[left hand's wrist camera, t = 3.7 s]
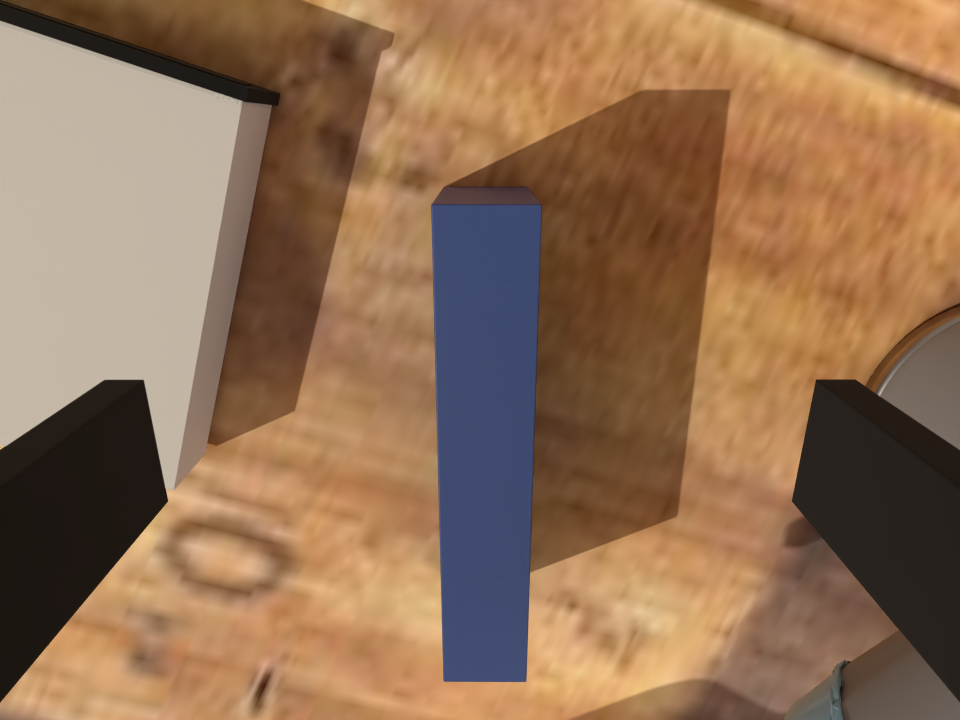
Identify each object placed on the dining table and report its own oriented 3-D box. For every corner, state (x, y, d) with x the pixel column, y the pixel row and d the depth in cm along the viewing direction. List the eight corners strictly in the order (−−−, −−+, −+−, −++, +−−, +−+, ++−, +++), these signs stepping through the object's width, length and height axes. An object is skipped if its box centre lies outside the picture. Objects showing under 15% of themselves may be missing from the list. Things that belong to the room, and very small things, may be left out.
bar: (443, 186, 35) (431, 204, 27) (528, 186, 35) (542, 204, 27) (451, 577, 44) (443, 682, 36) (518, 577, 44) (526, 682, 36)
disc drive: (280, 91, 33) (247, 84, 29) (210, 452, 41) (174, 494, 36) (-66, -26, 32) (-162, -53, 27) (-74, 374, 39) (-151, 408, 34)
